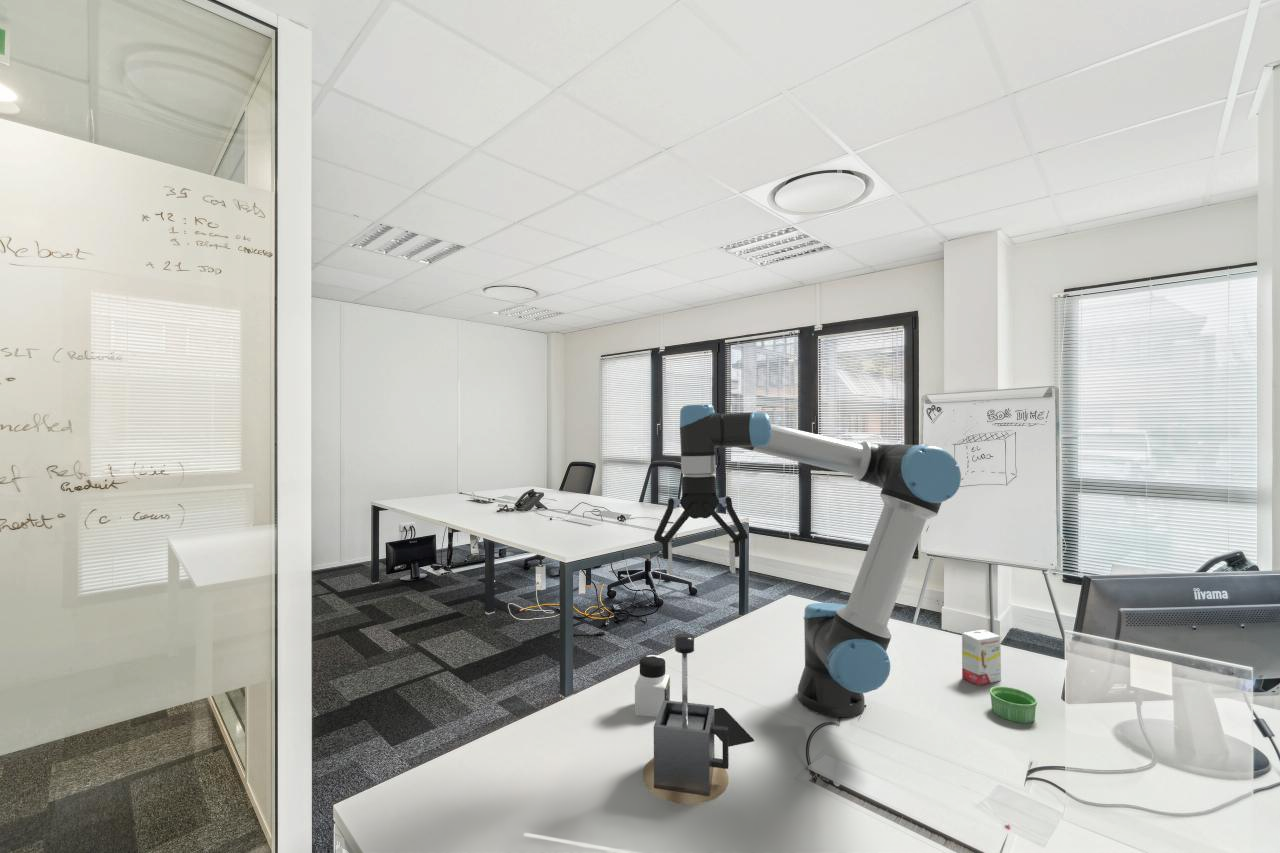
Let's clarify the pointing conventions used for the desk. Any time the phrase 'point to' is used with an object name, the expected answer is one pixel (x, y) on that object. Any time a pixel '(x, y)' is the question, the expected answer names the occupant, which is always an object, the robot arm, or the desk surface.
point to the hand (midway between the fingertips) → (701, 572)
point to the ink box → (981, 657)
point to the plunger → (685, 687)
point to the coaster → (716, 790)
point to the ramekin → (1013, 704)
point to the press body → (687, 750)
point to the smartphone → (731, 728)
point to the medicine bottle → (651, 686)
